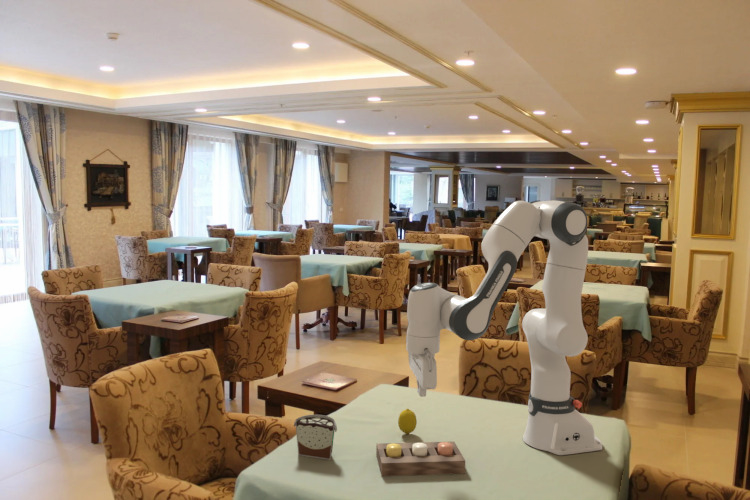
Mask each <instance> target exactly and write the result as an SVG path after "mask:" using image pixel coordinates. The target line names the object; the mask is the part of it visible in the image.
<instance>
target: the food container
mask: <svg viewBox="0 0 750 500" xmlns="http://www.w3.org/2000/svg"><path fill="white" fill-rule="evenodd" d="M293 427H295V432H296V443H297V444H296V445H297V453H298V454H297V455H298V456H303V457H308V458H309V457H310V458H316V459H322V460H328V461H329V460H332V457H333V456H332V454H333V447H334V446H333V445H334V439H335V437H334V436H335V433H337V431H338V427H337V423H336V420H335V419H334V418H333V417H331V416H328V415H324V414H307V415H302V416H300V417H298V418H296V419H295V421H294V424H293Z"/></svg>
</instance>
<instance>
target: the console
mask: <svg viewBox="0 0 750 500" xmlns="http://www.w3.org/2000/svg"><path fill="white" fill-rule="evenodd" d="M441 442H442V441H430V442H429V441H425V442H424V441H420V442H419V441H417V443H424V444H426V445H427V456H412V445H413V444H414V443H415V442H394V443H395V444H399V445H401V446H402V449H401V457H386V450H387V445H388V444H392V443H391V442H387V443H386V442H385V443H382V442H381V443H376V446H375V447H376V448H375V449H376V450H375V451H376V453H375V455H376V459H377V464H378V467H379V472H380V475H381V477H398V476H399V477H400V476H401V477H402V476H404V477H405V476H430V475H431V476H433V475H455V474H456V475H460V474H461V475H463V474H466V459H465V458H464V455H463V454H462V452H461V450H460V449H459V447H458V446H457V443H456V442H455V441H447V442H448V443H451V444H452V445H453V455H439V456H438V444H439V443H441Z"/></svg>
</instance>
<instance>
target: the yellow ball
mask: <svg viewBox="0 0 750 500" xmlns="http://www.w3.org/2000/svg"><path fill="white" fill-rule="evenodd" d="M395 443H396V442H393V443H392V444H388V445H387V450H386V457H401V449H402V446H401V445H399V444H395Z"/></svg>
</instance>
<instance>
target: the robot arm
mask: <svg viewBox="0 0 750 500" xmlns="http://www.w3.org/2000/svg"><path fill="white" fill-rule="evenodd" d="M587 229H588V215H587V213H586V211H585V209H584V207H582V206H581V205H579V204H576V203H574V202H570V201H562V200H555V199H554V200H553V199H552V200H533V201H530V202H529V201H526V200H515V201H514V202H512V203H511V204H510V205H509V206H507V207H506V209H504V211H502V213H500V214H499V216H498V217H497V219H495V220H494V222H493V223H492V224H491V226H490V227H489V229H488V230H487V231H486V233H485V234H484V236H483V238H482V240H481V241H482V242H481V244H480V247H481V252H482V255H483V257H484V259H485V261H486V262H487V263H488V270H487V272H486V274H485V276H484V277H483V279H482V280H481V282H480V284H479V286H478V287H477V289H476V291H475V292H474V294H473V295H472V296H470V297H469V298H466V297H464V296H463V295H462V296H461V295H459V294H456V293H453V292H450V291H448V290H446V289H445V288H442V286H440V285H439V284H438V283H435V282H422V283H418V284H416V285H414V286H413V287H412V288H411V289H410V290H409V293H408V297H407V308H406V310H407V311H406V318H407V323H408V324H407V325H408V326H407V329H406V336H405V343H406V345H405V348H406V349H405V350H406V352H407V354H408V355H407V356H408V357H407V358H408V365H409V368H410V370H411V371H412V373H413V375H414V376H415V378H416V384H417V385H416V386H417V393H418V395H419V397H420V398H423V397H424V398H425V397H426V396H427V390H435V389H436V388H437V384H438V382H437V381H438V372H437V371H438V370H437V368H438V367H437V361H436V359H435V357H436V356H435V355H436V354H438V353H439V352H440V351H441V350H440V343H441V331H442V330H448V331H449V332H452V333H453V334H455V335H456V336H457V337H459V338H460V339H462V340H464V341H475V340H477V339H479V338H481V337H482V336H483V335H485V333H486V332H487V330H488V329H489V327H490V325H491V321H492V318H493V317H492V316H493V314H494V311H495V309H496V307H497V305H498V303H499V302H500V300H501V298H502V296H503V295H504V293H505V292H506V289H507V287H508V285H509V284H510V283H511V280H512V279H513V277H514V275H515V273H516V270H517V267H518V262H519V259H520V257H521V255H522V254H523V252H524V251H525V250H526V248H527V247H528V245H529V244H530V242H531V240H532V239H533V238H534V237H537V238H540V239H545V240H548V242H549V252H548V255H547V259H546V265H545V270H544V274H543V279H542V285H541V291H542V294H543V296H544V297H543V298H544V303H545V306H544V307H545V308H533V309H530V310H529V311H528V312H526V313H525V315H524V316H523V318H522V322H521V326H522V331H523V332H524V335H525V337H526V341H527V342H526V343H527V347H528V353H529V359H530V366H531V367H530V368H531V373H530V374H531V375H530V376H531V377H530V379H531V380H530V392H529V393H528V402H527V403H528V404H527V407H528V417H527V422H526V426H525V430H524V433H523V436H522V440H523V441H524V443H525V444H527V445H528V446H531V447H532V448H534V449H537V450H540V451H545V452H549V453H552V454H554V455H556V456H557V455H558V456H567V455H573V454H580V453H588V452H596V451H602V450H603V443H602V441H601V440H600V439H599V438H598V437H597V436H596V435H595V431H594V427H593V426H594V425H593V424H592V423H591V422H590V421H589V420H588V418H586V416H584V415H583V414H582V413H580V412H579V411H578V410H577V409H581V408H582V406H583V403H582V402H581V401H580V400H579V399H575V398H574V397H573V396H571V393H570V390H571V379H572V378H571V369H570V366H569V365H568V363H567V359H566V357H569V358H570V357H572V358H573V357H577V356H578V355H580V354H581V353H583V352H584V350H585V349H586V347H587V345H588V340H589V337H588V333H587V329H585V326H584V323H583V322H584V321H583V314H582V292H583V288H584V281H585V275H586V271H587V266H588V257H589V255H588V254H589V238H588V236H587V235H586V233H587Z"/></svg>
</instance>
